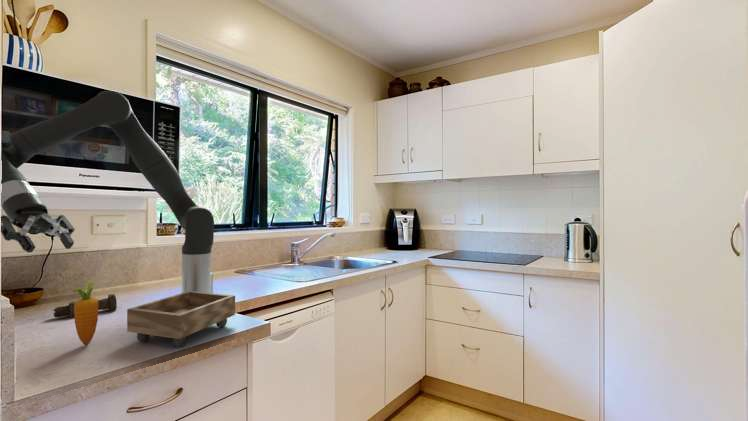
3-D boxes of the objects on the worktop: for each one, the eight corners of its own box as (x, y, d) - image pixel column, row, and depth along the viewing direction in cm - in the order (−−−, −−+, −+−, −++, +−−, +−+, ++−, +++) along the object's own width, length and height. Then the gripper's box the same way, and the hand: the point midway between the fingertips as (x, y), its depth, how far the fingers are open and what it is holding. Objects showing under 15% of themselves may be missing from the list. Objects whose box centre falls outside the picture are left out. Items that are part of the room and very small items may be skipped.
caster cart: (189, 319, 110) (189, 290, 110) (235, 324, 105) (235, 295, 105) (127, 343, 90) (127, 309, 90) (179, 351, 86) (179, 315, 86)
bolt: (54, 325, 109) (115, 313, 119) (54, 320, 106) (117, 308, 116) (52, 306, 111) (112, 296, 121) (53, 300, 107) (115, 291, 118)
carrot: (79, 351, 86) (79, 287, 85) (69, 346, 88) (69, 284, 88) (103, 344, 90) (103, 283, 90) (93, 340, 92) (93, 280, 92)
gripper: (-8, 190, 87) (25, 240, 84) (58, 192, 101) (89, 236, 98) (-23, 212, 89) (9, 262, 86) (45, 211, 103) (74, 255, 99)
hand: (52, 248), depth 92 cm, fingers open, 8 cm apart
